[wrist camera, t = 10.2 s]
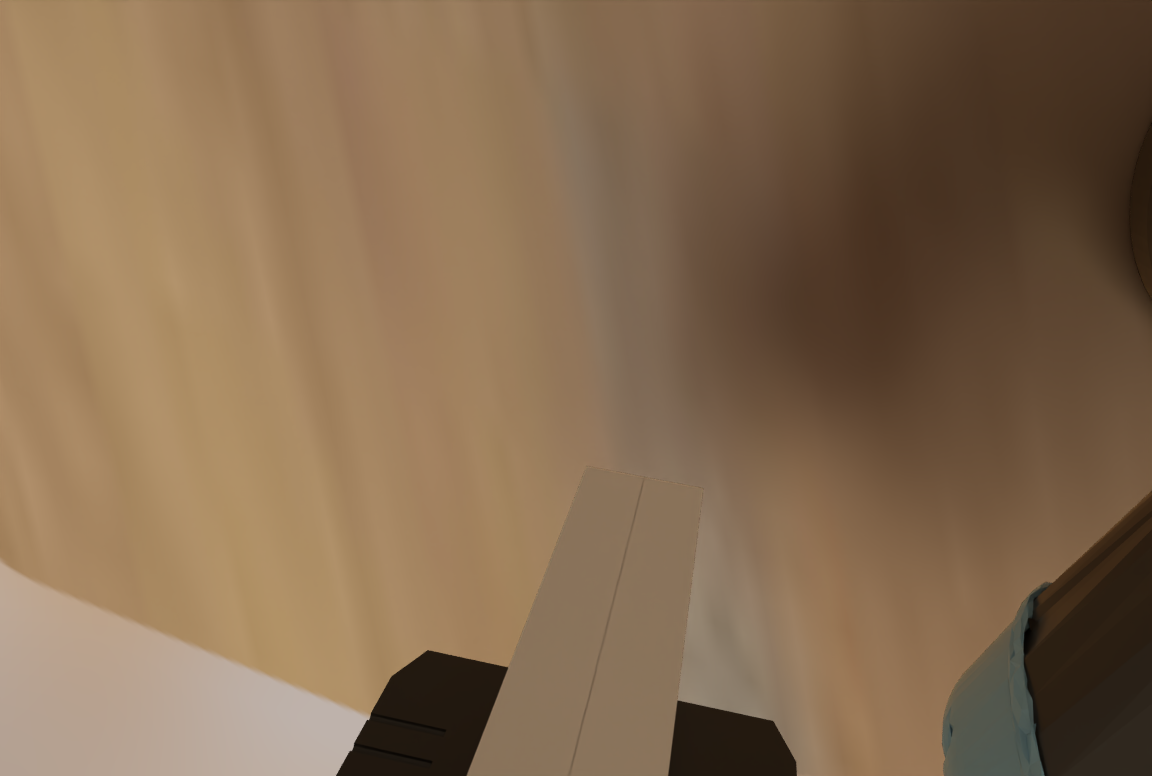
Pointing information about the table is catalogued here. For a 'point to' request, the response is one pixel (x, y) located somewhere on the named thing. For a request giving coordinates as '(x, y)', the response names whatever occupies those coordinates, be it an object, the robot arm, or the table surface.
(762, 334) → the table surface
